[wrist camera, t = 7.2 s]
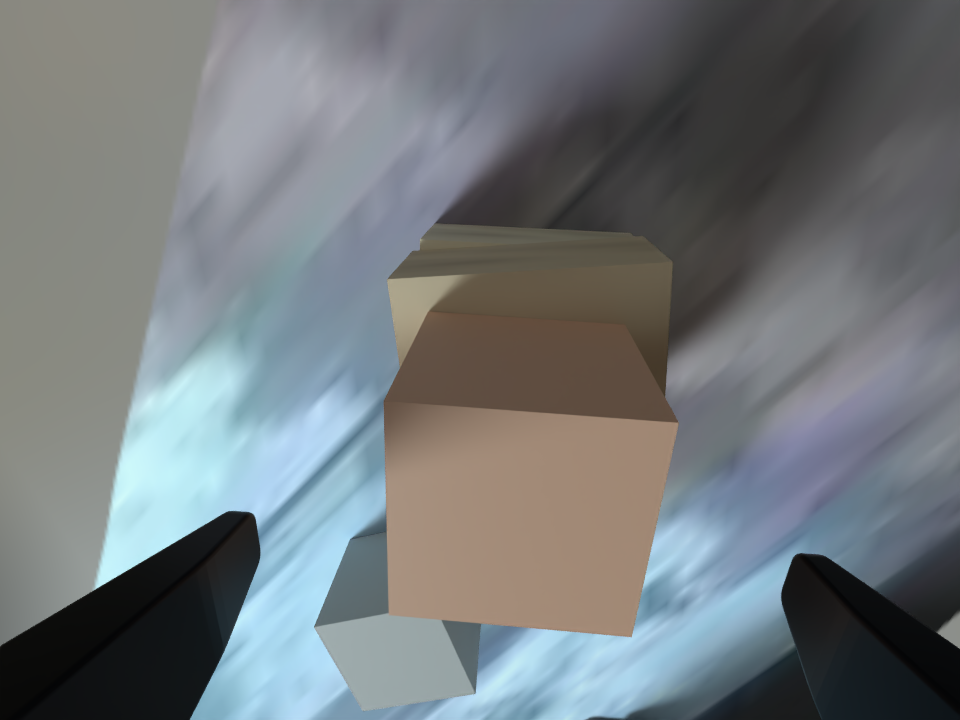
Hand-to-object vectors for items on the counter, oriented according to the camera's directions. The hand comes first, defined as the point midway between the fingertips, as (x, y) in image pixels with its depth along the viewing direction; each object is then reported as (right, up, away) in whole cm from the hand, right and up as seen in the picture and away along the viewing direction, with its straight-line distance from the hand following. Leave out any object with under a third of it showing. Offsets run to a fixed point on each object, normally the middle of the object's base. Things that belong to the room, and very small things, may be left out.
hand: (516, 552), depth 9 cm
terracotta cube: (0, +2, +6) cm, 6 cm away
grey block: (-4, -7, +17) cm, 19 cm away
